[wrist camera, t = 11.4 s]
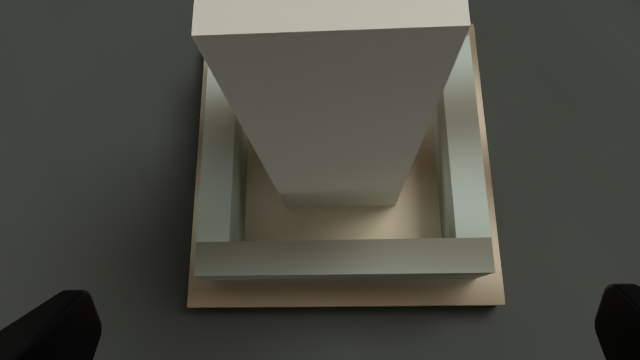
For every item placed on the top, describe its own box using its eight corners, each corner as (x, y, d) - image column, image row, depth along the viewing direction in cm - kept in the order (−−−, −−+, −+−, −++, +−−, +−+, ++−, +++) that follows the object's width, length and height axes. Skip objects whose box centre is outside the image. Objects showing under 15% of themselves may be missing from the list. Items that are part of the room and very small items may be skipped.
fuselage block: (395, 205, 20) (470, 25, 8) (286, 207, 20) (191, 35, 8) (390, 105, 21) (447, -186, 9) (287, 107, 21) (208, -171, 9)
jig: (497, 305, 19) (529, 302, 16) (194, 308, 20) (163, 305, 16) (468, 36, 23) (489, -13, 19) (211, 46, 23) (188, 0, 20)
